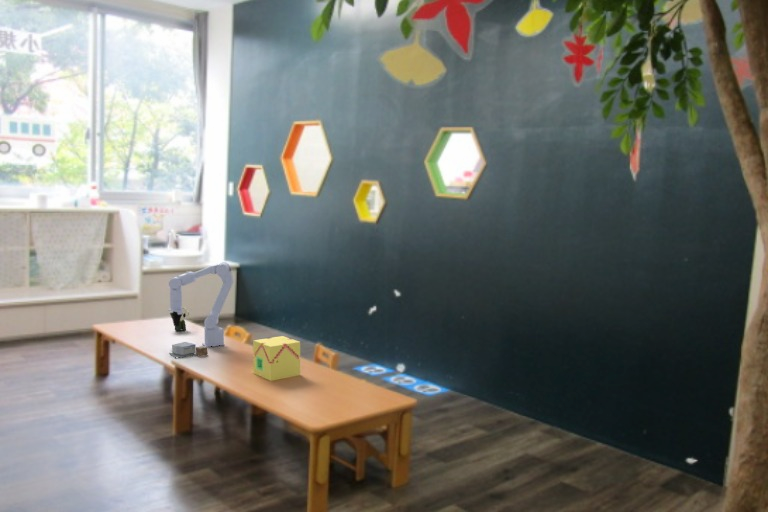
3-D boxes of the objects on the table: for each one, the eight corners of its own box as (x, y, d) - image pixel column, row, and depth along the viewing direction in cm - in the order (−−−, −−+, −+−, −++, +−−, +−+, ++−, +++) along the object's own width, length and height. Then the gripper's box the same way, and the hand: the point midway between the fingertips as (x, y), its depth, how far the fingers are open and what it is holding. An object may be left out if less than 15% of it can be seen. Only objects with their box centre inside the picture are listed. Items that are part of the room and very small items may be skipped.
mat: (187, 351, 325) (187, 350, 325) (193, 356, 316) (193, 355, 316) (169, 353, 320) (169, 353, 320) (175, 358, 312) (175, 357, 312)
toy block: (253, 373, 288) (253, 340, 286) (282, 367, 297) (282, 335, 296) (270, 381, 276) (270, 346, 275) (300, 375, 286) (300, 341, 285)
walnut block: (203, 353, 321) (202, 345, 321) (207, 355, 319) (207, 347, 318) (195, 355, 318) (195, 347, 318) (200, 356, 316) (200, 348, 315)
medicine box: (171, 353, 320) (182, 355, 315) (171, 344, 320) (182, 346, 314) (185, 350, 326) (196, 352, 321) (185, 341, 326) (195, 344, 321)
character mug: (173, 332, 368) (172, 310, 367) (169, 330, 374) (168, 308, 372) (191, 330, 375) (191, 308, 373) (187, 328, 380) (187, 306, 379)
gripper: (164, 298, 339) (165, 324, 340) (172, 302, 327) (172, 329, 328) (178, 297, 343) (178, 323, 344) (185, 301, 331) (186, 327, 332)
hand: (176, 326), depth 337 cm, fingers closed
